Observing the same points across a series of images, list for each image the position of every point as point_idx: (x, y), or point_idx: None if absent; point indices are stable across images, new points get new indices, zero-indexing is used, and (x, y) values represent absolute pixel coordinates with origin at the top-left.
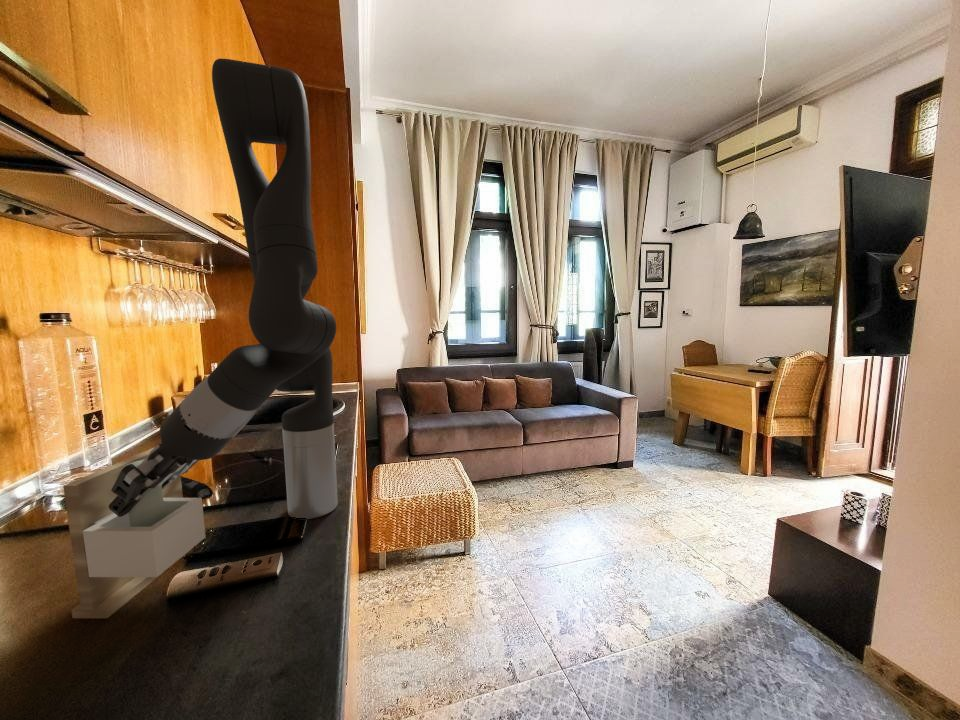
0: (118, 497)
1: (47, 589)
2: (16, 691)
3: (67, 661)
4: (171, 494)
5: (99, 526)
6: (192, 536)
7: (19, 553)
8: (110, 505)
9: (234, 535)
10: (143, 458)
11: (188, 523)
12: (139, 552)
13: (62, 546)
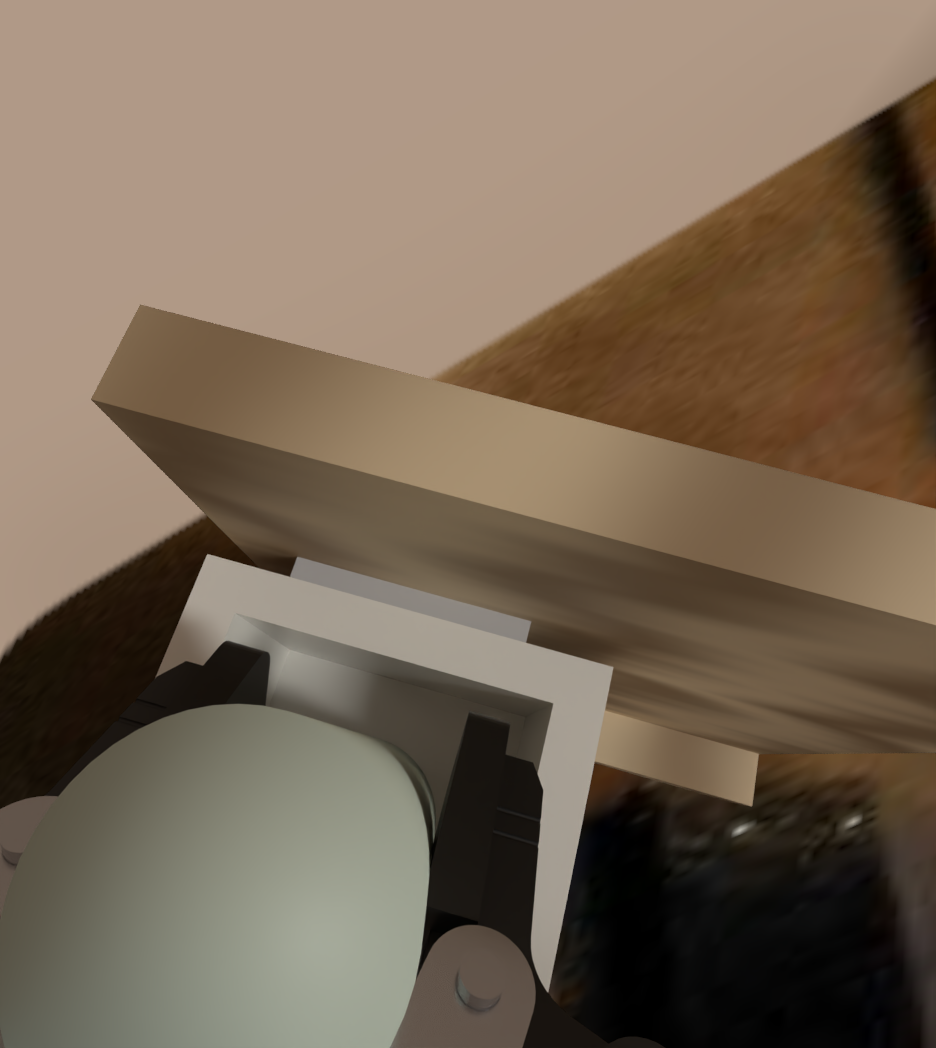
0: (89, 755)
1: (533, 404)
2: (75, 605)
3: (142, 672)
4: (831, 724)
5: (241, 613)
6: None
7: (761, 206)
8: (153, 682)
9: (791, 970)
10: (825, 604)
11: None
12: None
13: (788, 297)
